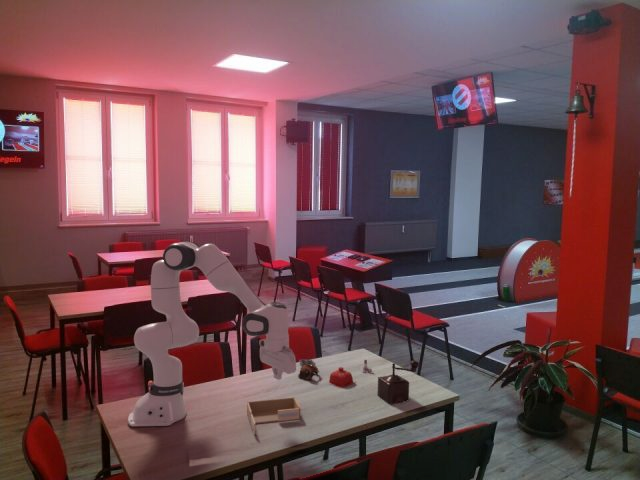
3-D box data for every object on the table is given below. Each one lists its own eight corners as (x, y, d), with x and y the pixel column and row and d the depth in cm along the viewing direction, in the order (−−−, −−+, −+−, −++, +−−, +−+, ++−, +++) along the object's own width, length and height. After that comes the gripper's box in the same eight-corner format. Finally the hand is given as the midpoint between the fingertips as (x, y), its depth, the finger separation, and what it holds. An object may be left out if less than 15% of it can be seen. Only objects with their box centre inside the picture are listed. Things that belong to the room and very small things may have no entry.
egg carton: (316, 371, 251) (316, 363, 251) (302, 373, 250) (301, 365, 250) (313, 364, 262) (312, 356, 261) (299, 365, 261) (298, 358, 260)
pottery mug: (294, 377, 246) (300, 361, 248) (310, 384, 248) (316, 368, 250) (301, 380, 235) (308, 363, 237) (318, 387, 237) (325, 371, 239)
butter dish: (323, 384, 238) (324, 367, 237) (340, 378, 246) (340, 361, 245) (341, 391, 229) (341, 373, 229) (357, 385, 237) (358, 367, 237)
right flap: (278, 421, 196) (278, 411, 195) (277, 420, 196) (277, 410, 196) (300, 418, 198) (300, 408, 198) (300, 418, 199) (300, 408, 199)
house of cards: (378, 379, 246) (378, 364, 245) (360, 378, 247) (361, 363, 246) (378, 372, 255) (378, 358, 254) (361, 371, 256) (361, 357, 255)
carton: (250, 424, 194) (250, 412, 194) (246, 413, 204) (246, 401, 203) (299, 419, 200) (300, 407, 199) (294, 408, 209) (294, 397, 209)
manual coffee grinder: (389, 406, 213) (390, 366, 211) (376, 397, 223) (377, 358, 221) (419, 401, 219) (421, 361, 217) (406, 392, 229) (407, 354, 227)
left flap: (249, 423, 193) (250, 413, 193) (251, 423, 194) (251, 412, 193) (253, 434, 185) (253, 423, 184) (255, 434, 185) (255, 423, 185)
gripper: (300, 348, 188) (300, 384, 189) (269, 337, 204) (270, 370, 205) (286, 351, 184) (286, 388, 185) (256, 339, 200) (257, 373, 201)
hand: (277, 378), depth 195 cm, fingers closed
